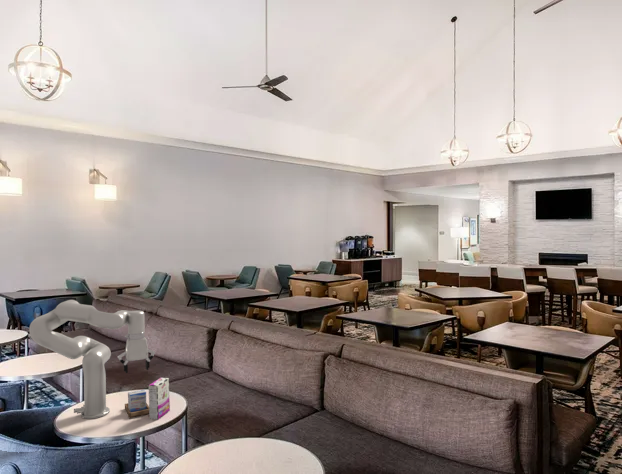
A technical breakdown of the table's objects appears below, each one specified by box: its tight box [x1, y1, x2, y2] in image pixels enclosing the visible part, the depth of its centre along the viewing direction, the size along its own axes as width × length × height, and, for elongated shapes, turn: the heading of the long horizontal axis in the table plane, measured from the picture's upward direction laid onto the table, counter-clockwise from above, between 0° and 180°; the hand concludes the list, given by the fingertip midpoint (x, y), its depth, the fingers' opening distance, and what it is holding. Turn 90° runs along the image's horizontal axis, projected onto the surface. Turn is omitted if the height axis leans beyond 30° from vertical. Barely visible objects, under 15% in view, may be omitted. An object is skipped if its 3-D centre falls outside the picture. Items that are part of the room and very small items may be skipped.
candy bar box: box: [148, 377, 171, 421], centre depth 219 cm, size 11×5×16 cm, turn 168°
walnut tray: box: [124, 402, 149, 420], centre depth 223 cm, size 10×14×2 cm
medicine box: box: [127, 389, 147, 412], centre depth 223 cm, size 8×4×9 cm, turn 121°
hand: (136, 370), depth 223 cm, fingers open, 9 cm apart
